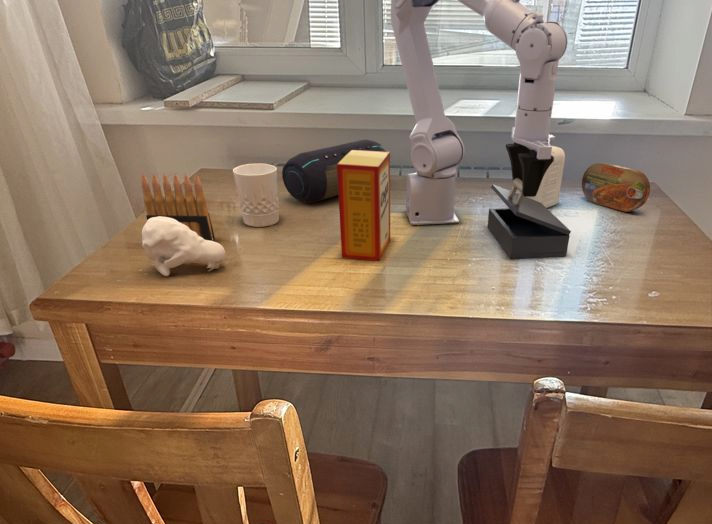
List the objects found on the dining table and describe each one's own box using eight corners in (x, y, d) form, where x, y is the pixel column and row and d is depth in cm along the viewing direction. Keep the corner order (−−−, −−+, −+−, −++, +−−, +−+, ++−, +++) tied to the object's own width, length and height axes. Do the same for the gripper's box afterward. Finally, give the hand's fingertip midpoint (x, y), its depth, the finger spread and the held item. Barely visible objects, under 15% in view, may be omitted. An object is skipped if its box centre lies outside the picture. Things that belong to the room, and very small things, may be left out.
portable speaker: (309, 211, 117) (305, 161, 112) (279, 200, 123) (274, 152, 118) (395, 185, 133) (395, 140, 128) (366, 176, 139) (364, 133, 133)
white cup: (232, 224, 110) (223, 171, 105) (256, 211, 117) (249, 161, 111) (267, 230, 108) (260, 177, 103) (290, 217, 114) (284, 166, 109)
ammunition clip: (215, 240, 104) (203, 172, 97) (212, 244, 102) (200, 175, 96) (155, 239, 104) (138, 171, 97) (151, 243, 102) (134, 175, 96)
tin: (577, 198, 128) (584, 159, 123) (586, 195, 130) (593, 157, 125) (638, 217, 118) (648, 175, 114) (646, 213, 120) (656, 172, 116)
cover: (515, 215, 95) (526, 192, 93) (490, 187, 108) (500, 166, 106) (569, 235, 99) (581, 213, 97) (539, 206, 111) (549, 186, 109)
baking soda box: (355, 237, 106) (351, 147, 98) (390, 239, 106) (389, 149, 97) (341, 257, 98) (336, 162, 90) (379, 260, 98) (377, 164, 89)
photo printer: (544, 199, 127) (552, 140, 120) (560, 204, 124) (570, 144, 118) (515, 209, 121) (522, 148, 114) (531, 215, 118) (540, 153, 112)
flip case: (510, 259, 99) (512, 238, 97) (487, 227, 112) (488, 208, 110) (566, 256, 101) (569, 235, 99) (537, 225, 113) (539, 206, 111)
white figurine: (147, 209, 91) (226, 216, 92) (154, 259, 95) (229, 265, 97) (134, 224, 86) (218, 230, 87) (142, 276, 90) (222, 281, 92)
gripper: (575, 116, 88) (561, 203, 96) (542, 99, 100) (532, 178, 108) (530, 117, 87) (520, 205, 95) (503, 100, 99) (496, 179, 107)
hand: (524, 191), depth 101 cm, fingers closed on cover, 5 cm apart
